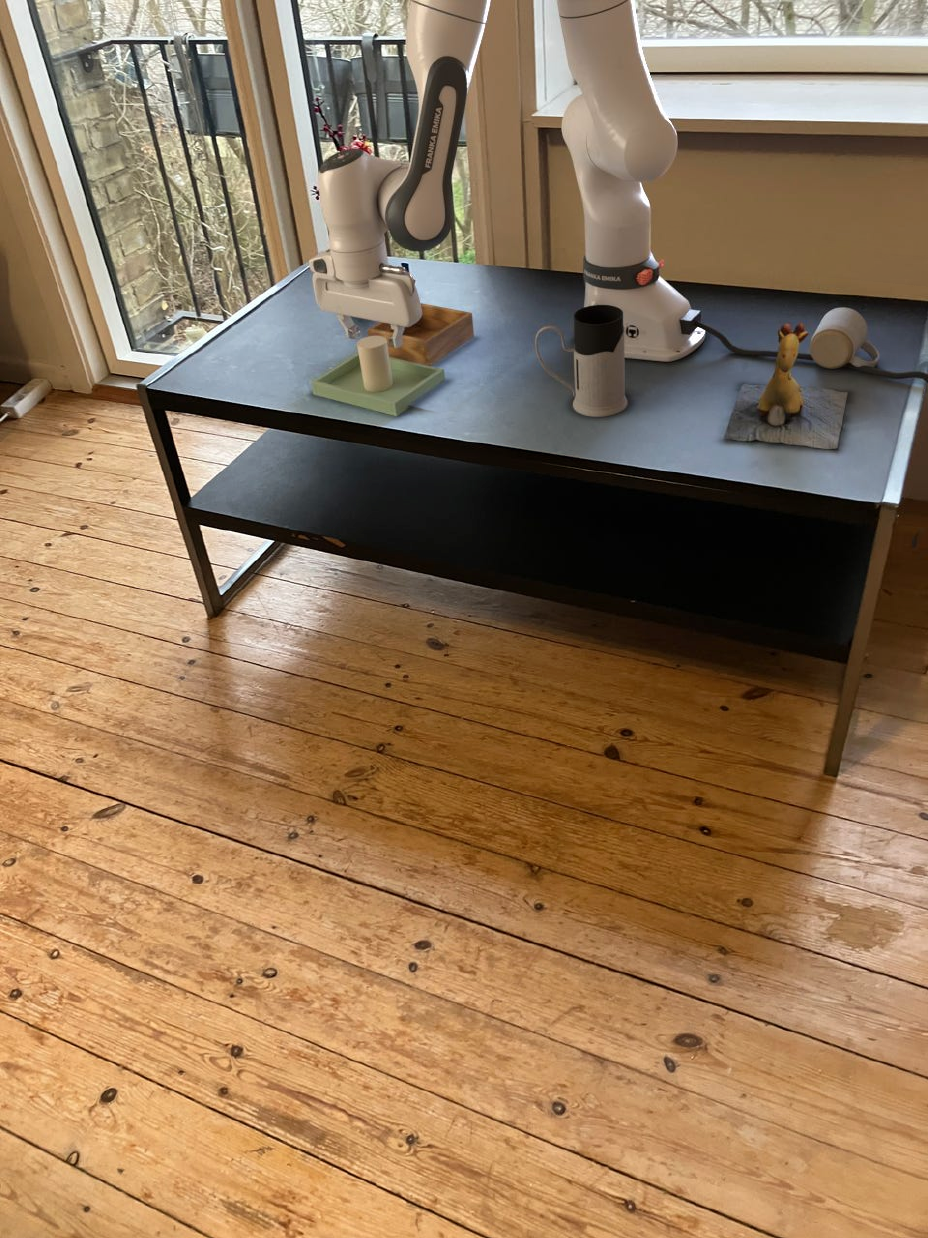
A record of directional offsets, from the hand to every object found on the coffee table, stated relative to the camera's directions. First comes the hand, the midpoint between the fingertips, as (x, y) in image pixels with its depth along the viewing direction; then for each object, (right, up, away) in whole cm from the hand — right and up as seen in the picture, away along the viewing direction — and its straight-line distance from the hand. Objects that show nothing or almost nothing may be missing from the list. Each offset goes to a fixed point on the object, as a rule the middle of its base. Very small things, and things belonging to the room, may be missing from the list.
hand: (374, 341), depth 175 cm
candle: (0, -6, +5) cm, 8 cm away
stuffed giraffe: (+64, -16, -16) cm, 68 cm away
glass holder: (+34, -12, -7) cm, 37 cm away
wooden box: (+7, +3, +16) cm, 18 cm away
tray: (0, -7, +5) cm, 8 cm away
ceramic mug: (+77, -4, -4) cm, 77 cm away
